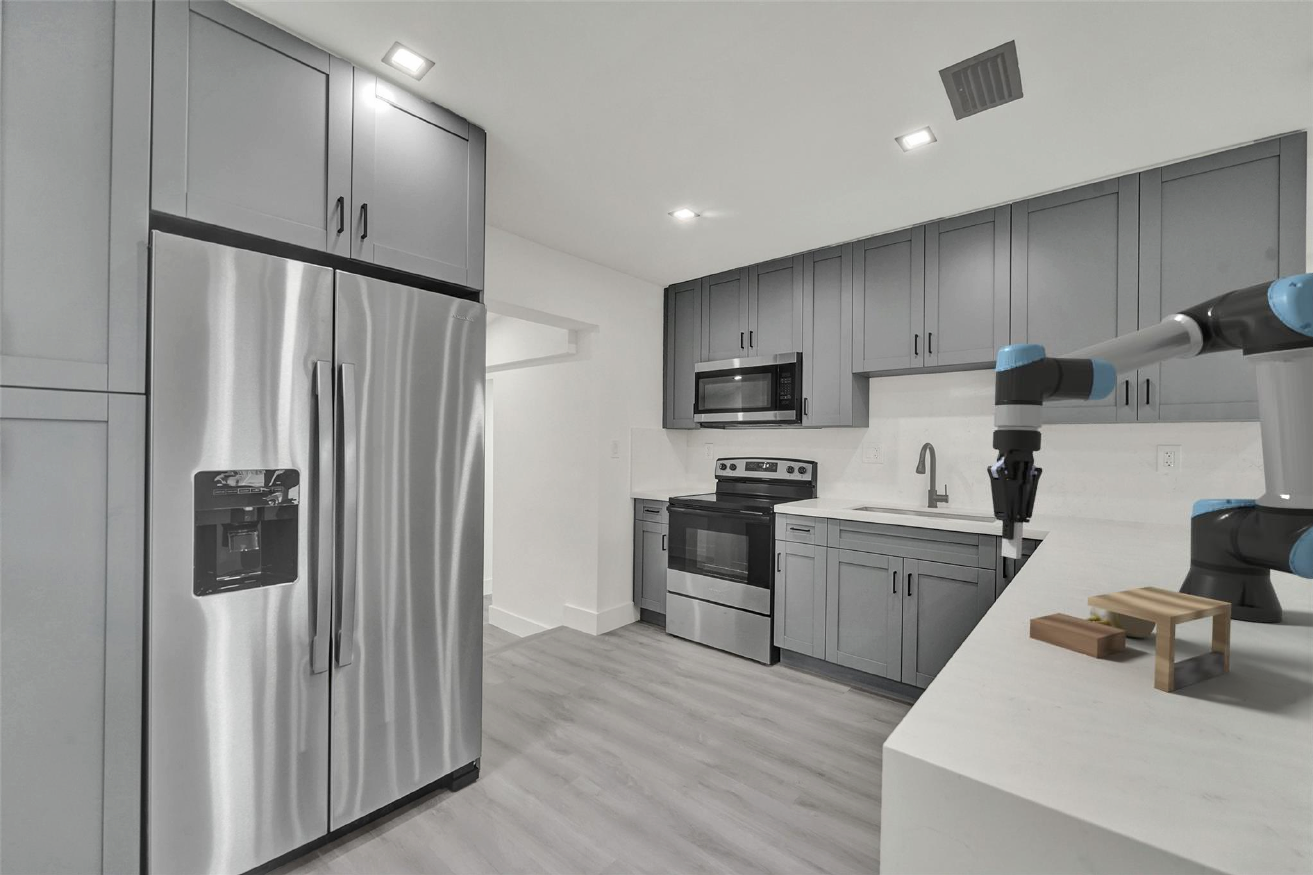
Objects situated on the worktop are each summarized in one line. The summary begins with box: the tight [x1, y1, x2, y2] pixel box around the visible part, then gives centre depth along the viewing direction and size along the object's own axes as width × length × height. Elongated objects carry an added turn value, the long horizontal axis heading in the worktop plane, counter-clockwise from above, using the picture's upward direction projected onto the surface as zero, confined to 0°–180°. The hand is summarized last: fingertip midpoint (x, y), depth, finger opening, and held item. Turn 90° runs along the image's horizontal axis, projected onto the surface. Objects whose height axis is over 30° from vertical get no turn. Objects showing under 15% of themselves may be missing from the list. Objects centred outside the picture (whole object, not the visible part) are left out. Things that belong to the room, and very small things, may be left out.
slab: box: [1029, 612, 1127, 659], centre depth 96 cm, size 9×10×4 cm
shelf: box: [1087, 586, 1232, 693], centre depth 86 cm, size 18×10×10 cm, turn 116°
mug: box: [1084, 606, 1156, 638], centre depth 102 cm, size 8×10×10 cm
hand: (1011, 556), depth 105 cm, fingers closed
